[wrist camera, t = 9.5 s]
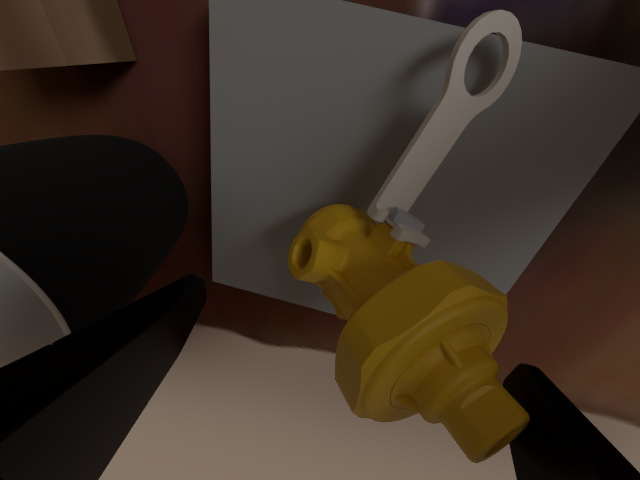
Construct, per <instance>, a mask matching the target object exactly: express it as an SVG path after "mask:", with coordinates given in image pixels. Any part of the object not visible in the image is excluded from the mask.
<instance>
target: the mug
mask: <svg viewBox="0 0 640 480" xmlns="http://www.w3.org/2000/svg"><path fill="white" fill-rule="evenodd" d="M187 211H188V203H187V196H186V192H185V189H184V186H183V184H182V182H181V180H180V178H179V177H178V175H177V173H176V172H175V171H174V169H173V168H172V167H171V166H170V164H169V163H168V162H167V161H166V160H165V159H164V158H163V157H161V156H160V155H159V154H158V153H156V152H155V151H154V150H152V149H151V148H149V147H147V146H145V145H143V144H141V143H139V142H136V141H134V140H130V139H127V138H122V137H117V136H109V135H81V136H67V137H58V138H50V139H42V140H35V141H28V142H22V143H16V144H10V145H4V146H0V367H3V366H5V365H7V364H9V363H11V362H13V361H15V360H17V359H19V358H21V357H24V356H26V355H28V354H30V353H32V352H34V351H36V350H38V349H40V348H42V347H44V346H46V345H48V344H51V345H52V343H53V342H54V341H56V340H58V339H60V338H62V337H64V336H66V335H68V334H70V333H72V332H74V331H76V330H78V329H80V328H82V327H84V326H86V325H88V324H90V323H92V322H94V321H96V320H98V319H100V318H102V317H104V316H106V315H108V314H110V313H112V312H114V311H116V310H118V309H120V308H122V307H125V306H127V305H129V304H131V303H132V302H133V300H134V299H135V298H136V297H137V296H138V294H139V293H140V292H141V291H142V289H143V288H144V287H145V286H146V284H147V283H148V282H149V281H150V279H151V278H152V277H153V275H154V274H155V273H156V272H157V270H158V269H159V267H160V266H161V265H162V263H163V262H164V260H165V259H166V258H167V256H168V255H169V253H170V252H171V250H172V249H173V247H174V246H175V244H176V242H177V240H178V239H179V237H180V235H181V233H182V231H183V228H184V225H185V222H186V218H187Z"/></svg>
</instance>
